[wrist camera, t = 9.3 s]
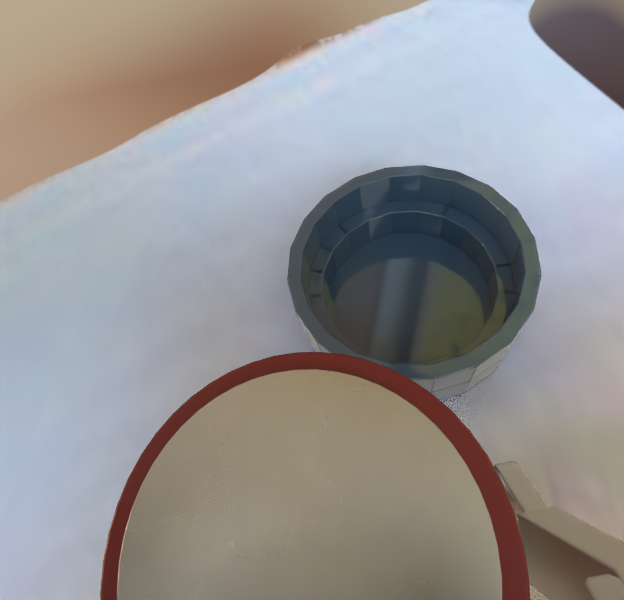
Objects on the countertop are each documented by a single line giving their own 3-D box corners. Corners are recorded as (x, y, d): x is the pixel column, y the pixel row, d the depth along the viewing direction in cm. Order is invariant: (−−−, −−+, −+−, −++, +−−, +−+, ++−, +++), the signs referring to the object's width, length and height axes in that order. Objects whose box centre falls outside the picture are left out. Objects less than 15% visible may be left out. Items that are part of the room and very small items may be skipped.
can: (331, 690, 15) (201, 1031, 5) (241, 510, 18) (41, 485, 8) (484, 571, 16) (652, 648, 6) (375, 417, 19) (354, 282, 9)
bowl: (384, 451, 26) (381, 434, 22) (269, 286, 33) (247, 243, 28) (565, 322, 28) (600, 279, 23) (423, 188, 34) (427, 131, 29)
